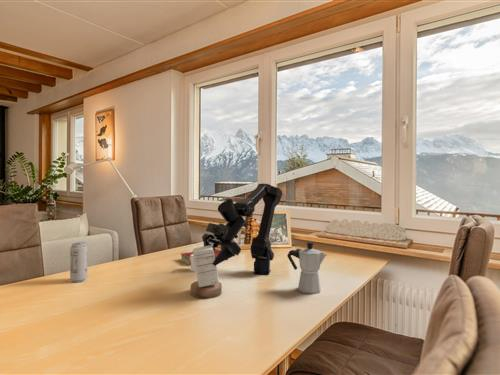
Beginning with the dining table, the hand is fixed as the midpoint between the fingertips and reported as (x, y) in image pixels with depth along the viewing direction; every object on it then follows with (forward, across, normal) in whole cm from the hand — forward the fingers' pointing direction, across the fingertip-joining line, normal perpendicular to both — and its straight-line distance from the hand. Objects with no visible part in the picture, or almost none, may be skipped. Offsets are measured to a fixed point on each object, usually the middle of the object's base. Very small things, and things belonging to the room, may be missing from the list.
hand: (206, 262), depth 113 cm
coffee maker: (-14, +20, +30) cm, 39 cm away
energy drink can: (+32, -42, -16) cm, 55 cm away
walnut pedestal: (+8, 0, +8) cm, 11 cm away
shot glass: (0, -27, +16) cm, 32 cm away
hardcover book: (-8, -41, +25) cm, 48 cm away
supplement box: (+5, 0, +6) cm, 8 cm away
